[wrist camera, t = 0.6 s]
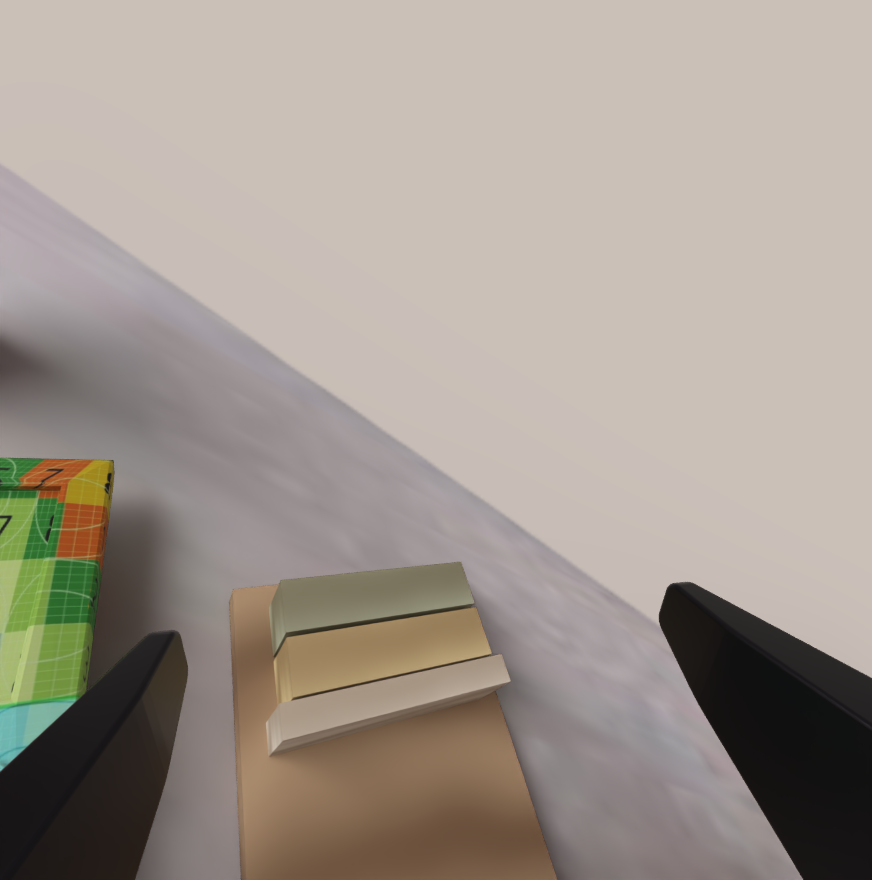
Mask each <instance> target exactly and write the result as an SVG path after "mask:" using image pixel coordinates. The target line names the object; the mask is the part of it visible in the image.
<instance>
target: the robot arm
mask: <svg viewBox="0 0 872 880" xmlns="http://www.w3.org/2000/svg"><path fill="white" fill-rule="evenodd" d="M659 623H660V626H661V629H662V631H663V633H664V635H665V637H666V639H667V641H668V643H669V645H670V647H671V650H672V652H673V654H674V656H675V658H676V660H677V662H678V664H679V666H680V668H681V670H682V672H683V674H684V676H685V678H686V681H687V683H688V685H689V687H690V689H691V691H692V693H693V695H694V697H695V698H696V700H697V702H698V704H699V706H700V708H701V709H702V711H703V713H704V715H705V716H706V718H707V720H708V721H709V723H710V725H711V726H712V728H713V730H714V731H715V733H716V735H717V736H718V738H719V740H720V741H721V743H722V745H723V746H724V748H725V750H726V751H727V753H728V755H729V756H730V758H731V760H732V761H733V763H734V765H735V766H736V768H737V770H738V771H739V773H740V775H741V776H742V778H743V780H744V781H745V783H746V785H747V786H748V788H749V790H750V791H751V793H752V795H753V796H754V798H755V800H756V801H757V803H758V805H759V806H760V808H761V810H762V811H763V813H764V815H765V816H766V818H767V820H768V821H769V823H770V825H771V826H772V828H773V830H774V831H775V833H776V835H777V836H778V838H779V840H780V841H781V843H782V845H783V846H784V848H785V850H786V851H787V853H788V855H789V856H790V858H791V860H792V861H793V863H794V865H795V866H796V868H797V870H798V871H799V873H800V875H801V877H802V878H803V880H872V678H870V677H869V676H867V675H865V674H863V673H861V672H859V671H858V670H856V669H854V668H852V667H850V666H848V665H846V664H844V663H843V662H840V661H839V660H837V659H835V658H833V657H831V656H829V655H827V654H825V653H824V652H822V651H820V650H818V649H816V648H814V647H812V646H811V645H809V644H807V643H805V642H803V641H801V640H799V639H797V638H795V637H793V636H792V635H790V634H788V633H786V632H784V631H782V630H780V629H779V628H776V627H774V626H773V625H771V624H769V623H767V622H765V621H763V620H762V619H760V618H758V617H756V616H754V615H752V614H750V613H748V612H747V611H744V610H743V609H741V608H739V607H737V606H735V605H733V604H731V603H730V602H728V601H726V600H724V599H722V598H720V597H718V596H716V595H715V594H713V593H711V592H709V591H707V590H705V589H703V588H701V587H699V586H698V585H696V584H694V583H691V582H680V583H672V584H670V585H669V586H668V587H667V590H666V593H665V596H664V599H663V603H662V606H661V609H660V612H659ZM187 676H188V666H187V661H186V657H185V652H184V648H183V644H182V640H181V636H180V634H179V632H178V631H175V630H169V631H158V632H152V633H150V634H148V635H147V636H146V637H145V638H144V639H142V640H141V641H140V642H139V643H138V644H137V645H136V646H135V647H134V648H133V649H132V650H131V651H129V652H128V653H127V654H126V655H125V656H124V657H123V658H122V659H121V660H120V661H119V662H118V663H117V664H115V665H114V666H113V667H112V668H111V669H110V670H109V671H108V672H107V673H106V674H105V675H104V676H102V677H101V678H100V679H99V680H98V681H97V682H96V683H95V684H94V685H93V686H92V687H91V688H90V689H88V690H87V691H86V692H85V693H84V694H83V695H82V696H81V697H80V698H79V699H78V700H77V701H75V702H74V703H73V704H72V705H71V706H70V707H69V708H68V709H67V710H66V711H65V712H64V713H63V714H61V715H60V716H59V717H58V718H57V719H56V720H55V721H54V722H53V723H52V724H51V725H50V726H48V727H47V728H46V729H45V730H44V731H43V732H42V733H41V734H40V735H39V736H38V737H37V738H36V739H34V740H33V741H32V742H31V743H30V744H29V745H28V746H27V747H26V748H25V749H24V750H23V751H21V752H20V753H19V754H18V755H17V756H16V757H15V758H14V759H13V760H12V761H11V762H10V763H9V764H7V765H6V766H5V767H4V768H3V769H2V770H1V771H0V880H135V878H136V874H137V871H138V868H139V865H140V862H141V859H142V855H143V852H144V849H145V846H146V843H147V840H148V836H149V833H150V830H151V827H152V824H153V821H154V817H155V814H156V811H157V808H158V805H159V802H160V798H161V795H162V792H163V788H164V785H165V781H166V778H167V773H168V769H169V765H170V760H171V755H172V750H173V746H174V741H175V736H176V731H177V726H178V721H179V716H180V712H181V707H182V702H183V697H184V692H185V687H186V682H187Z"/></svg>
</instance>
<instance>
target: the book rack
mask: <svg viewBox="0 0 872 880" xmlns="http://www.w3.org/2000/svg"><path fill="white" fill-rule="evenodd" d="M473 604H475V602H474V599H473V596H472V593H471V590H470V587H469V584H468V581H467V578H466V575H465V572H464V570H463V567H462V564H461V562H454V563H444V564H434V565H425V566H415V567H405V568H395V569H386V570H376V571H366V572H356V573H347V574H337V575H327V576H318V577H308V578H298V579H288V580H281V581H280V583H279V585H269V586H260V587H250V588H241V589H233V591H232V595H231V598H230V602H229V606H230V630H231V654H232V677H233V701H234V725H235V748H236V772H237V795H238V819H239V843H240V866H241V880H557V877H556V874H555V871H554V868H553V865H552V862H551V859H550V856H549V853H548V850H547V847H546V844H545V840H544V837H543V834H542V831H541V828H540V825H539V822H538V819H537V816H536V813H535V810H534V807H533V804H532V801H531V798H530V795H529V792H528V789H527V785H526V782H525V779H524V776H523V773H522V770H521V767H520V764H519V761H518V758H517V755H516V752H515V749H514V746H513V743H512V740H511V737H510V734H509V730H508V727H507V724H506V721H505V718H504V715H503V712H502V709H501V706H500V703H499V700H498V697H497V694H496V691H495V690H497V689H499V688H500V687H502V686H504V685H505V684H507V683H509V682H511V680H510V677H509V674H508V671H507V669H506V666H505V663H504V660H503V657H502V654H499V655H494V656H490V657H488V656H489V655H491V654H492V653H491V650H490V647H489V644H488V641H487V638H486V635H485V632H484V629H483V626H482V623H481V620H480V617H479V614H478V611H477V608H476V607H474V608H470V607H471V606H472V605H473Z"/></svg>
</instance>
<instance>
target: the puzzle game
mask: <svg viewBox="0 0 872 880" xmlns="http://www.w3.org/2000/svg"><path fill="white" fill-rule="evenodd" d="M113 483H114V461H113V460H76V459H33V458H0V771H1V770H2V769H3V768H4V767H5V766H6V765H7V764H9V763H10V762H11V761H12V760H13V759H14V758H15V757H16V756H17V755H18V754H19V753H20V752H21V751H23V750H24V749H25V748H26V747H27V746H28V745H29V744H30V743H31V742H32V741H33V740H34V739H36V738H37V737H38V736H39V735H40V734H41V733H42V732H43V731H44V730H45V729H46V728H47V727H48V726H50V725H51V724H52V723H53V722H54V721H55V720H56V719H57V718H58V717H59V716H60V715H61V714H63V713H64V712H65V711H66V710H67V709H68V708H69V707H70V706H71V705H72V704H73V703H74V702H75V701H77V700H78V699H79V698H80V697H81V696H82V695H83V694H84V693H85V692H86V687H87V679H88V672H89V664H90V657H91V649H92V642H93V634H94V627H95V619H96V612H97V604H98V597H99V589H100V582H101V574H102V567H103V559H104V552H105V544H106V537H107V529H108V522H109V514H110V507H111V499H112V492H113Z"/></svg>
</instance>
